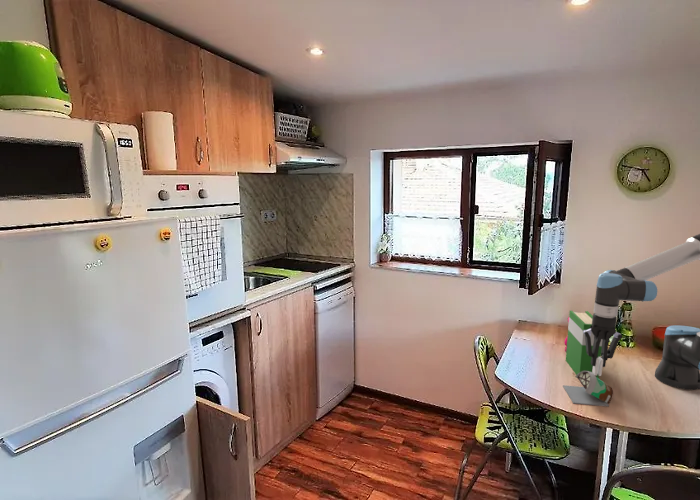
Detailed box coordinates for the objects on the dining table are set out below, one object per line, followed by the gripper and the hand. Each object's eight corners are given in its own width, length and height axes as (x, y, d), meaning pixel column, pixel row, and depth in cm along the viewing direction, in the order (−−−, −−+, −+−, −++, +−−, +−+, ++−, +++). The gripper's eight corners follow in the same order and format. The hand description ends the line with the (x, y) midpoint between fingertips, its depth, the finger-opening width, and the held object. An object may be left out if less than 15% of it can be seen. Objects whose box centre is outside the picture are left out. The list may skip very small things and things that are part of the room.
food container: (620, 393, 149) (595, 379, 150) (610, 406, 151) (585, 391, 152) (607, 377, 161) (584, 364, 162) (597, 389, 163) (574, 376, 164)
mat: (595, 388, 163) (595, 387, 163) (608, 406, 151) (608, 405, 151) (562, 386, 166) (562, 385, 166) (573, 403, 153) (573, 402, 153)
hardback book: (565, 360, 188) (569, 310, 184) (583, 361, 187) (587, 311, 183) (579, 378, 171) (583, 324, 167) (598, 380, 170) (603, 325, 166)
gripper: (588, 316, 149) (580, 376, 153) (630, 320, 147) (620, 380, 151) (581, 310, 156) (573, 367, 161) (621, 313, 154) (612, 371, 158)
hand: (596, 373), depth 156 cm, fingers closed
